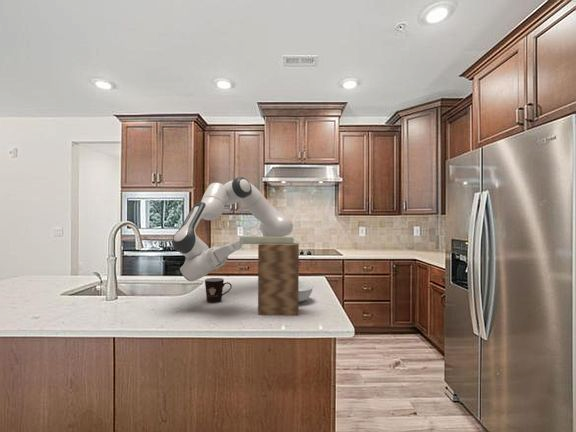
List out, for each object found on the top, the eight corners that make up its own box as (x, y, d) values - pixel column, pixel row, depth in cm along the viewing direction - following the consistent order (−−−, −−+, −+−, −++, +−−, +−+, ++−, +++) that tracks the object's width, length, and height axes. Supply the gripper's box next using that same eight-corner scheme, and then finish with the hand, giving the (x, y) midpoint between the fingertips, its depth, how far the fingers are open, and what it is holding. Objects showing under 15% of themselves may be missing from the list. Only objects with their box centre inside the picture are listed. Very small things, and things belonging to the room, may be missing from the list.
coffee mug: (200, 302, 161) (200, 280, 161) (212, 298, 169) (213, 277, 169) (220, 305, 156) (221, 282, 156) (232, 301, 163) (232, 279, 163)
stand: (258, 314, 142) (258, 244, 141) (261, 308, 152) (261, 242, 151) (298, 315, 141) (298, 245, 141) (298, 308, 151) (298, 243, 151)
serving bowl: (309, 308, 152) (309, 292, 152) (262, 305, 156) (262, 289, 156) (315, 297, 173) (315, 283, 173) (273, 295, 177) (273, 281, 177)
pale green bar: (239, 243, 145) (239, 237, 145) (241, 243, 149) (241, 236, 149) (293, 244, 144) (293, 237, 144) (293, 243, 148) (293, 236, 148)
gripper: (226, 259, 158) (252, 244, 157) (214, 266, 137) (245, 248, 137) (219, 247, 158) (245, 232, 157) (206, 252, 137) (237, 234, 137)
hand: (245, 239), depth 147 cm, fingers open, 8 cm apart
